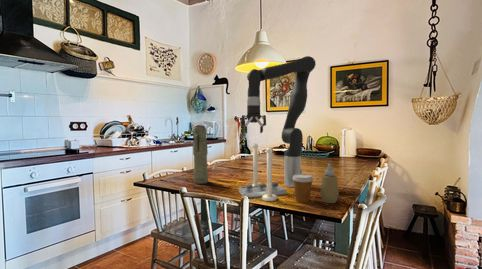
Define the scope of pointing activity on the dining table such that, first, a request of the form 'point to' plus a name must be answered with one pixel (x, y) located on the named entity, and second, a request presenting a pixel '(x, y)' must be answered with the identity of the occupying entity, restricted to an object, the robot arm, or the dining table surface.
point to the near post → (269, 178)
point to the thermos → (200, 155)
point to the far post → (255, 165)
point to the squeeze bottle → (329, 186)
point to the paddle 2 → (274, 184)
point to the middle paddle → (262, 185)
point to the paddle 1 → (249, 186)
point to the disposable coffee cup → (302, 187)
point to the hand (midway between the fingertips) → (253, 133)
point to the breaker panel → (261, 191)
